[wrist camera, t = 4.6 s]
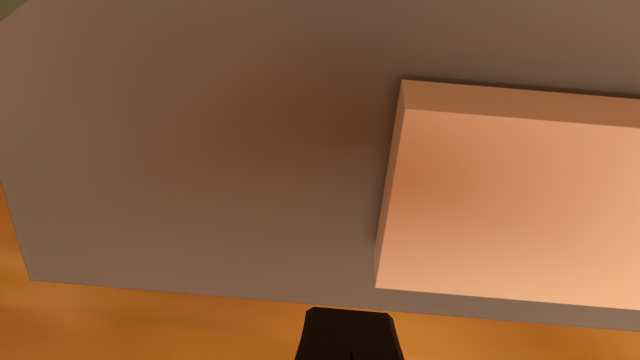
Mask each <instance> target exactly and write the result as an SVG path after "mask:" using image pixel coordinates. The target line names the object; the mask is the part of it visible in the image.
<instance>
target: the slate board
mask: <svg viewBox="0 0 640 360" xmlns="http://www.w3.org/2000/svg"><path fill="white" fill-rule="evenodd" d="M401 80H414V81H426V82H438V83H450V84H462V85H474V86H486V87H498V88H510V89H522V90H534V91H546V92H558V93H570V94H582V95H594V96H606V97H618V98H630V99H640V0H28V1H27V2H26V3H24V4H23V5H22V6H20V7H19V8H18V9H16V10H15V11H14V12H13V13H11V14H10V15H9V16H7V17H6V18H5V19H3V20H2V21H1V22H0V181H1V184H2V188H3V191H4V195H5V198H6V201H7V205H8V208H9V211H10V215H11V218H12V222H13V225H14V228H15V232H16V235H17V238H18V242H19V245H20V249H21V252H22V255H23V259H24V262H25V265H26V269H27V272H28V275H29V279H30V281H41V282H53V283H65V284H77V285H89V286H100V287H112V288H124V289H136V290H148V291H159V292H171V293H183V294H195V295H207V296H219V297H230V298H242V299H254V300H266V301H278V302H289V303H301V304H313V305H325V306H337V307H348V308H360V309H372V310H384V311H396V312H408V313H419V314H431V315H443V316H455V317H467V318H478V319H490V320H502V321H514V322H526V323H537V324H549V325H561V326H573V327H585V328H597V329H608V330H620V331H632V332H640V310H631V309H619V308H607V307H595V306H584V305H572V304H560V303H548V302H536V301H524V300H513V299H501V298H489V297H477V296H465V295H453V294H442V293H430V292H418V291H406V290H394V289H383V288H375V267H374V249H375V243H376V237H377V230H378V224H379V218H380V212H381V205H382V199H383V193H384V186H385V180H386V174H387V168H388V161H389V155H390V149H391V142H392V136H393V130H394V124H395V117H396V111H397V105H398V99H399V92H400V86H401Z"/></svg>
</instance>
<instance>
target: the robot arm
mask: <svg viewBox="0 0 640 360" xmlns="http://www.w3.org/2000/svg"><path fill="white" fill-rule="evenodd" d="M295 360H404V357H403V354H402V351H401V348H400V344H399V341H398V337H397V334H396V330H395V326H394V322H393V318H392V317H391V316H390V315H389V314H388V313H379V312H367V311H355V310H344V309H332V308H320V307H313V308H311V309H309V310H307V311H306V316H305V323H304V328H303V332H302V336H301V340H300V344H299V347H298V350H297V354H296V357H295Z"/></svg>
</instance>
